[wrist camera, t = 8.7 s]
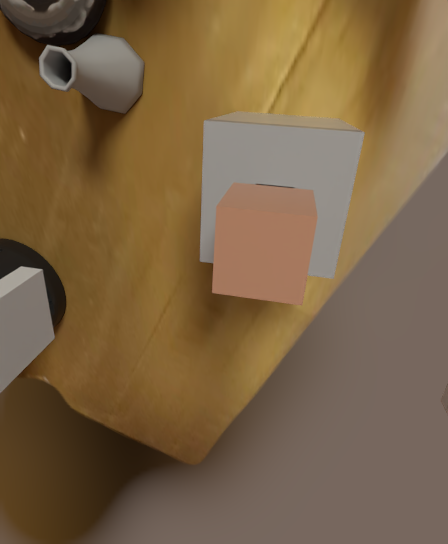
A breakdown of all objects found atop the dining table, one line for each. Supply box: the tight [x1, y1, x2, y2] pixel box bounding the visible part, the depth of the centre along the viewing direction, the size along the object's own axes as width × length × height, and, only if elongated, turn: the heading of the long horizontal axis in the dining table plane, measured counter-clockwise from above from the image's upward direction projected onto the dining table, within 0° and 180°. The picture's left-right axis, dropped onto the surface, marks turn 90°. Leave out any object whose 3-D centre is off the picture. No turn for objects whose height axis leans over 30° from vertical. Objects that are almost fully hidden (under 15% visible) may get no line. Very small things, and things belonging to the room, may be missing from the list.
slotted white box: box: [200, 111, 365, 279], centre depth 32 cm, size 10×10×16 cm
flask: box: [39, 33, 144, 114], centre depth 34 cm, size 7×7×10 cm
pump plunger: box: [212, 182, 318, 305], centre depth 26 cm, size 4×4×20 cm
